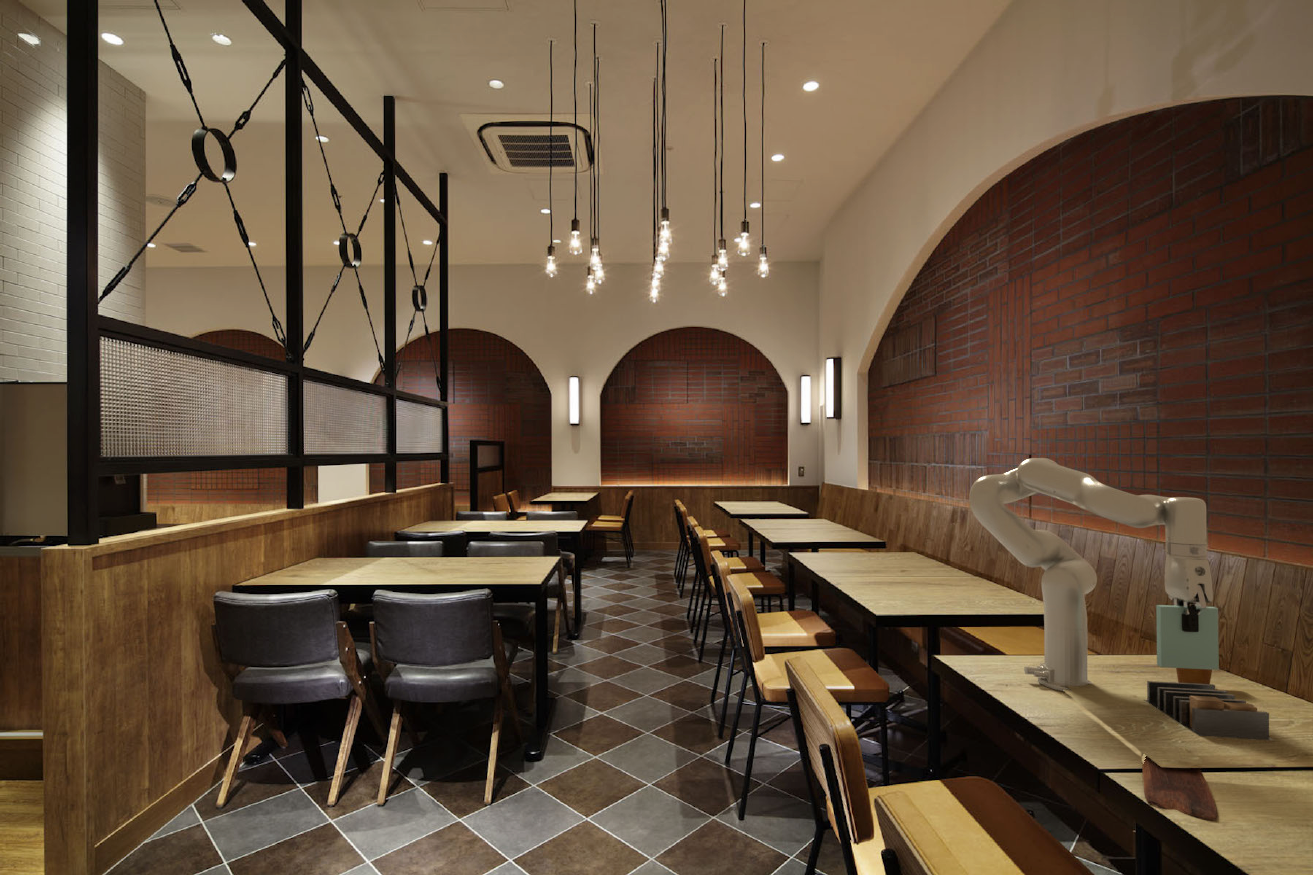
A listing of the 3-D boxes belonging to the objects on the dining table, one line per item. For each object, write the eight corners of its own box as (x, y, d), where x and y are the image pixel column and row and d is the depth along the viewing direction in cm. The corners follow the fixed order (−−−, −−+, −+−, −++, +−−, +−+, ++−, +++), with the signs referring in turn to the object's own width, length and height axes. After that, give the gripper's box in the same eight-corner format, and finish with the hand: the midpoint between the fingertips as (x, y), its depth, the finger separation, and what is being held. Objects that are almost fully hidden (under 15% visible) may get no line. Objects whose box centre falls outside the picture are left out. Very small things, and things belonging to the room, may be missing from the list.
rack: (1199, 742, 138) (1199, 711, 138) (1143, 705, 158) (1143, 678, 158) (1274, 747, 136) (1274, 715, 136) (1208, 709, 156) (1208, 681, 156)
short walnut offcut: (1230, 732, 140) (1230, 706, 140) (1222, 727, 142) (1222, 701, 142) (1257, 734, 139) (1257, 707, 139) (1248, 729, 141) (1248, 703, 142)
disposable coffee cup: (1213, 683, 173) (1213, 637, 173) (1221, 694, 165) (1220, 646, 165) (1167, 676, 178) (1167, 632, 178) (1173, 687, 170) (1173, 640, 170)
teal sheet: (1161, 667, 153) (1160, 606, 153) (1157, 664, 155) (1156, 604, 155) (1218, 669, 151) (1218, 608, 151) (1214, 667, 153) (1213, 606, 153)
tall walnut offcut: (1197, 730, 141) (1197, 699, 141) (1189, 725, 143) (1189, 695, 143) (1223, 732, 140) (1223, 701, 140) (1215, 727, 142) (1215, 696, 142)
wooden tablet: (1139, 742, 136) (1201, 749, 130) (1141, 753, 136) (1203, 761, 130) (1143, 799, 114) (1218, 811, 109) (1145, 813, 114) (1220, 825, 108)
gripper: (1227, 556, 145) (1229, 640, 145) (1182, 546, 161) (1183, 622, 160) (1190, 555, 146) (1191, 639, 146) (1148, 545, 162) (1149, 621, 161)
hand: (1187, 629), depth 153 cm, fingers closed on teal sheet, 1 cm apart
